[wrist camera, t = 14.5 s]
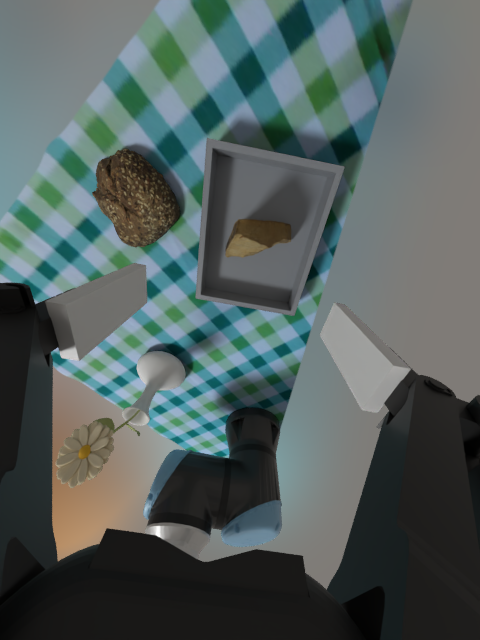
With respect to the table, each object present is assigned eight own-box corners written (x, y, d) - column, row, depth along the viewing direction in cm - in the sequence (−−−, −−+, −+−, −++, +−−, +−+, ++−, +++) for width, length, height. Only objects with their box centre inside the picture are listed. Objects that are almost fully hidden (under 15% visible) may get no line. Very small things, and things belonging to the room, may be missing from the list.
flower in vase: (191, 354, 47) (139, 481, 25) (183, 387, 52) (133, 515, 30) (135, 339, 46) (27, 458, 24) (132, 374, 51) (42, 498, 29)
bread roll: (190, 220, 34) (181, 222, 29) (134, 255, 37) (119, 260, 33) (140, 131, 29) (120, 116, 24) (80, 180, 32) (53, 175, 28)
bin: (289, 305, 40) (294, 315, 36) (201, 289, 39) (195, 298, 35) (332, 172, 29) (344, 166, 26) (213, 147, 29) (206, 138, 25)
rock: (309, 209, 29) (245, 181, 27) (309, 256, 26) (235, 228, 23) (274, 256, 39) (224, 238, 36) (271, 294, 35) (216, 277, 33)
